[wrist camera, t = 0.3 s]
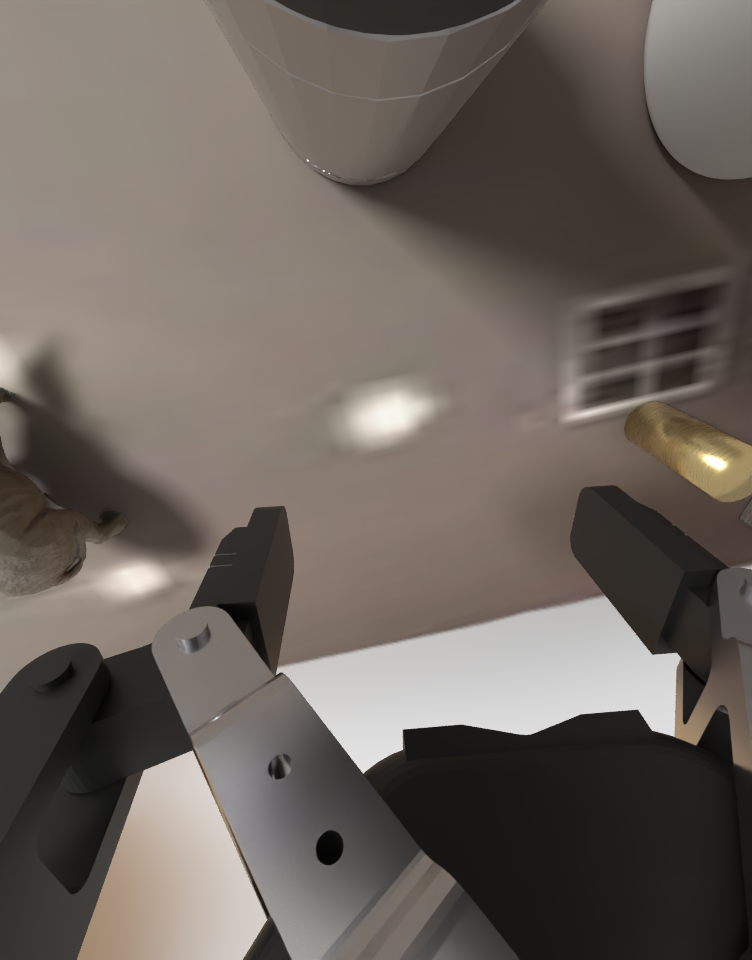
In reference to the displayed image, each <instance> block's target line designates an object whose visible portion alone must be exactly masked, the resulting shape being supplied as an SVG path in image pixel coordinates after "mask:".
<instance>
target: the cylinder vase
mask: <svg viewBox="0 0 752 960" xmlns="http://www.w3.org/2000/svg"><path fill="white" fill-rule="evenodd" d="M644 86H645V95H646V101H647V106H648V110H649V114H650V117H651V120H652V123H653V126H654V128H655V131H656V133H657V135H658V137H659V138H660V140H661V142H662V144H663V145H664V147H665V148H666V149H667V151H668V152H669V153H670V154H671V155H672V156H673V157H674V158H675V159H676V160H677V161H678V162H679V163H680V164H682V165H683V166H684V167H686V168H688V169H689V170H691V171H693V172H695V173H697V174H700V175H703V176H706V177H710V178H715V179H727V180H732V179H744V178H750V177H752V0H653V2H652V6H651V10H650V15H649V20H648V25H647V32H646V39H645V49H644Z"/></svg>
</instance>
